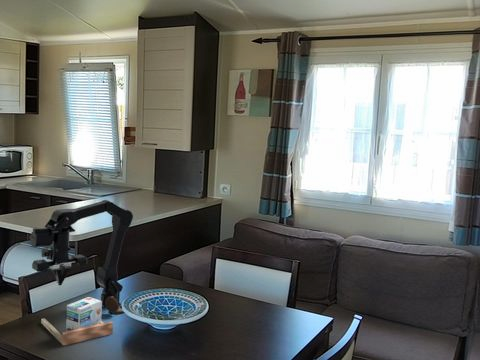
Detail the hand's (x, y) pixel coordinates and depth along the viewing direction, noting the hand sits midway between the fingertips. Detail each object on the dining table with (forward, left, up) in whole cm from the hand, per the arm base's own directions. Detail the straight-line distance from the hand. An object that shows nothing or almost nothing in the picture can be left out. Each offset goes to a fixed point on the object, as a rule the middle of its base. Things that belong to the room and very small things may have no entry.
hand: (59, 285), depth 181 cm
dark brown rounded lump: (-20, +6, -12) cm, 24 cm away
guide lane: (-1, +13, -12) cm, 18 cm away
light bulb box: (-2, +18, -12) cm, 22 cm away
